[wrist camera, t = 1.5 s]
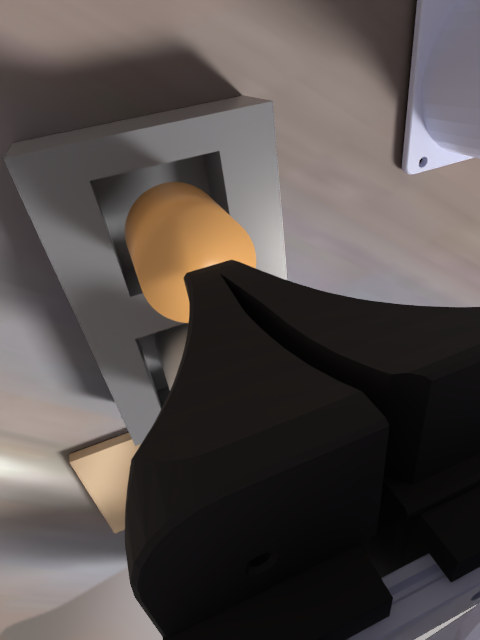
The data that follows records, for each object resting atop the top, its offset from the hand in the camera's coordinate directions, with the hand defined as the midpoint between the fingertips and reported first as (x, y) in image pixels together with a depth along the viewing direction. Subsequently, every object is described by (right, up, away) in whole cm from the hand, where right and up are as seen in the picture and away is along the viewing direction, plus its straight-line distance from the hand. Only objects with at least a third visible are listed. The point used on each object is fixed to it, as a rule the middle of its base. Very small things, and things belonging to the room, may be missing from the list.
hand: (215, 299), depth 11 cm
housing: (-2, +2, +9) cm, 9 cm away
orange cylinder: (-2, +3, +4) cm, 5 cm away
